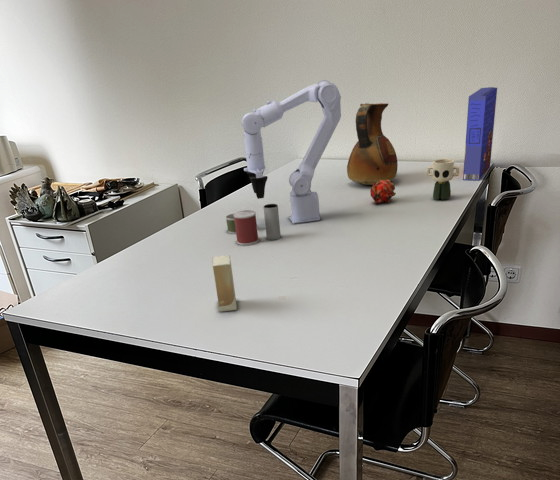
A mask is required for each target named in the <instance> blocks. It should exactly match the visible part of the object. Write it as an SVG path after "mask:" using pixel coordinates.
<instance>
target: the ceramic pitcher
mask: <svg viewBox="0 0 560 480" xmlns="http://www.w3.org/2000/svg"><path fill="white" fill-rule="evenodd" d="M359 106H360V107H359V108H358V109H357V112H356V113H355V131H356V136H357V141H356V143H355V145H354V146H353V148H352V150H351V152H350V154H349V158H348V161H347V165H346V175H347V178H348V179H349V180H350V181H352V182H356V183H358V184H363V185H370V186H373V185H374V183H375V182H380V179H383V180H384V181H386V180H390V181H391V180H394V179H395V178H396V176H397V174H398V167H399V166H398V165H399V164H398V156H397V152H396V149H395V147H394V146H393V144H392V142H391V141H390V140H389V138H388V137H387V136H386V135H384V132H383V130H382V120H383V113H384V111H385V110H386V108H387V107H388V106H389V102H387V103H384V102H383V103H382V102H380V103H369V102H366V103H360V104H359Z"/></svg>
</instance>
